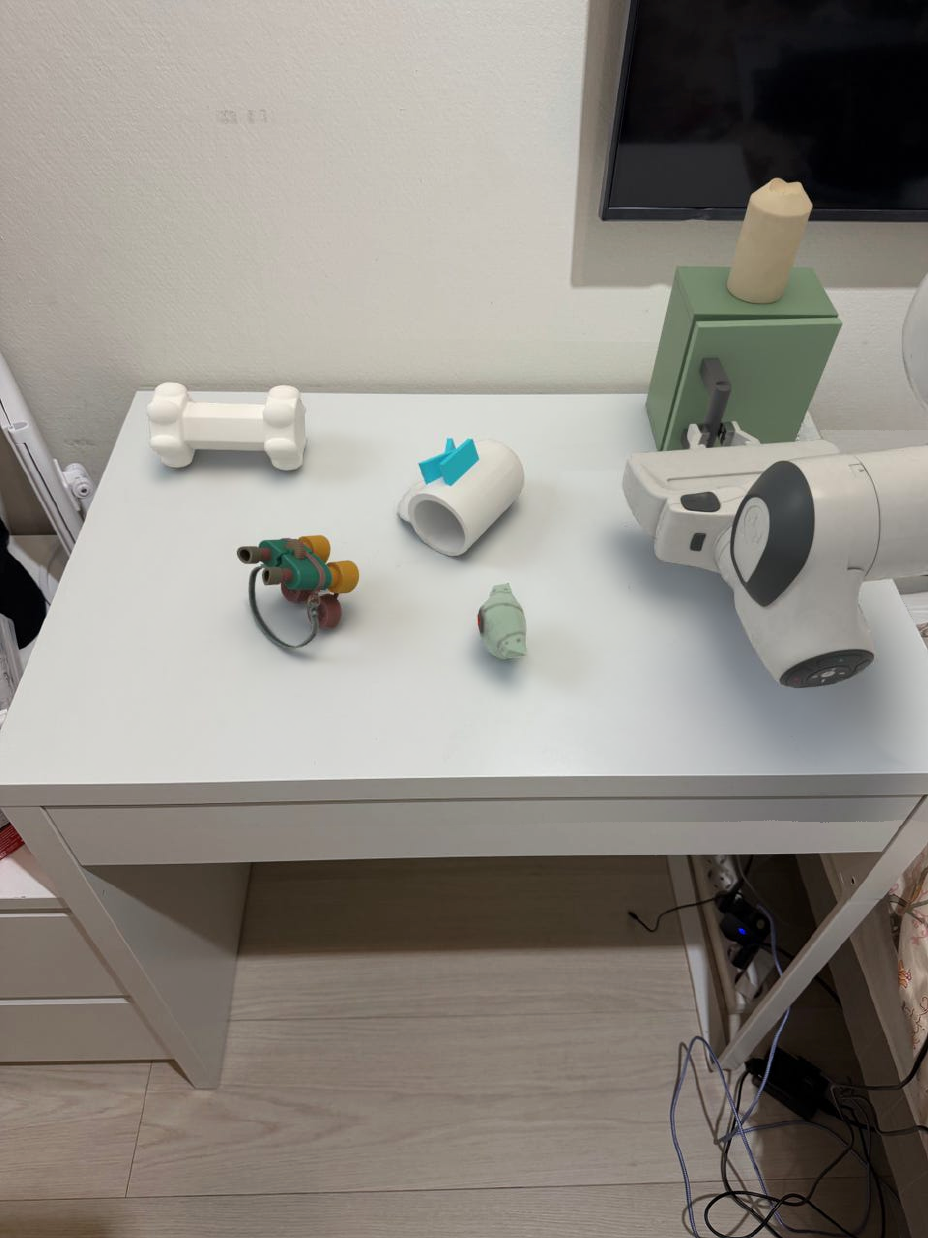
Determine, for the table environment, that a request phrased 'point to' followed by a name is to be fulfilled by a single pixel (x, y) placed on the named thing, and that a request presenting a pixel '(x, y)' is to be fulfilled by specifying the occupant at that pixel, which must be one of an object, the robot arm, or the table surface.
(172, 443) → the dog bone
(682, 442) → the door
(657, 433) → the cabinet
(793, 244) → the candle
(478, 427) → the table surface
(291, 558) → the binoculars
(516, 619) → the robot head
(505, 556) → the table surface
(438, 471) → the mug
